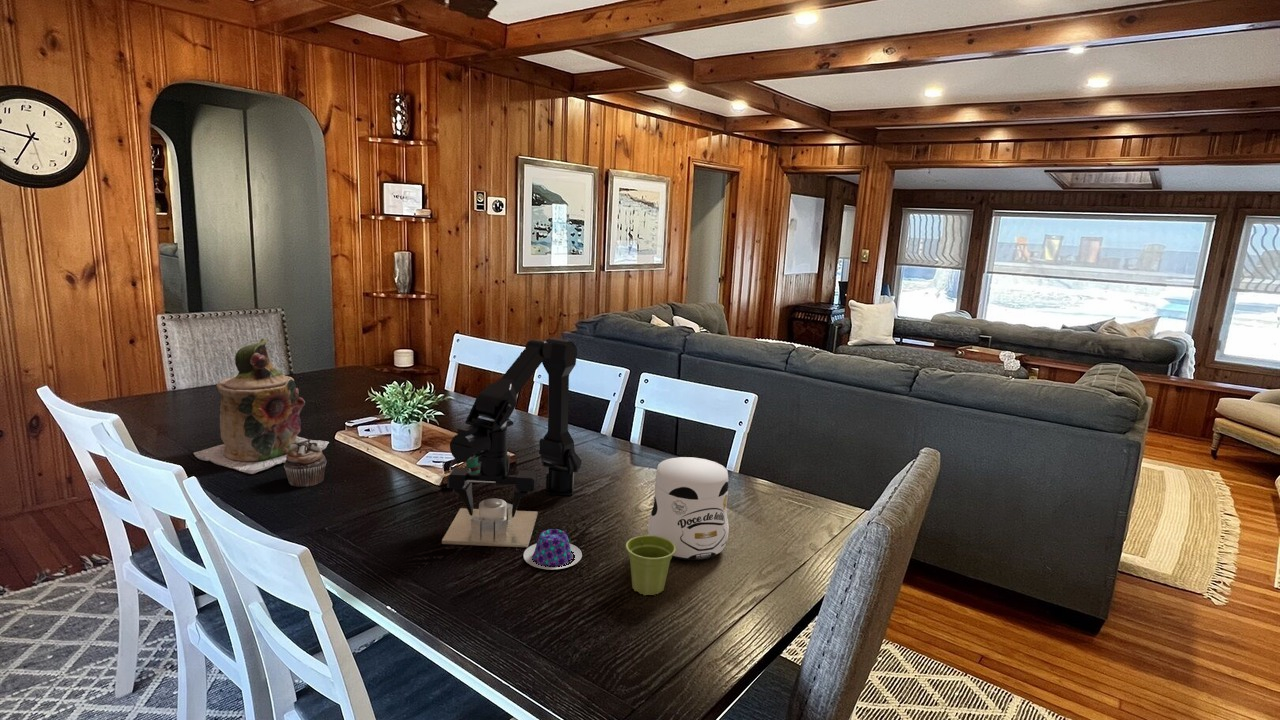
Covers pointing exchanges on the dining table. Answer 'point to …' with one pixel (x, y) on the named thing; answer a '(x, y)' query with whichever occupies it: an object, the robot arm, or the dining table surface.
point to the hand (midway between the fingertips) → (492, 515)
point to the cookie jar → (256, 415)
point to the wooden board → (491, 529)
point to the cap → (493, 509)
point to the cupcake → (305, 464)
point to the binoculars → (469, 465)
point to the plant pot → (649, 563)
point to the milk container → (691, 507)
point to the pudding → (552, 550)
